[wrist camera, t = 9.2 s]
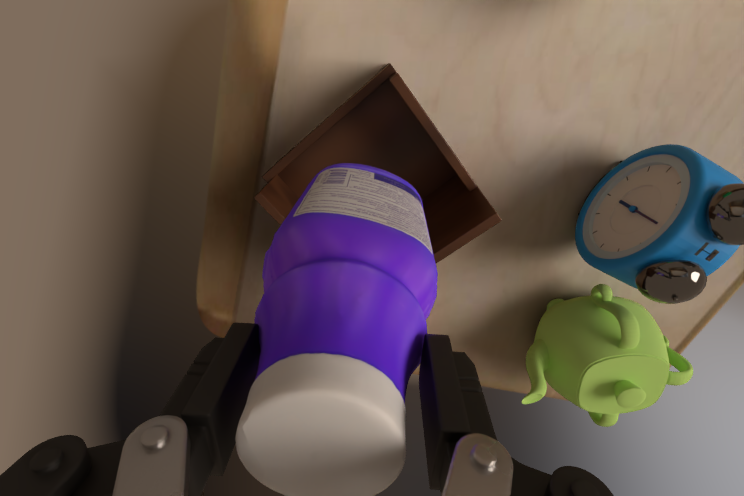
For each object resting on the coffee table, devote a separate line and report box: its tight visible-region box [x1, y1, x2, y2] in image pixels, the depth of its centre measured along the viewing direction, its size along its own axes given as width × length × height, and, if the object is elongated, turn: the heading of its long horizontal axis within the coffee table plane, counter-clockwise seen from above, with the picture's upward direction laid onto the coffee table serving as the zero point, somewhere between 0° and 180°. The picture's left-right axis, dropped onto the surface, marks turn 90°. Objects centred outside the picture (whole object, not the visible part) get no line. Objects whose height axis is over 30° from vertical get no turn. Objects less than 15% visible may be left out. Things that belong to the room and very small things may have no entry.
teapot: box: [522, 284, 693, 427], centre depth 45 cm, size 16×14×13 cm
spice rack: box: [254, 63, 502, 263], centre depth 35 cm, size 13×16×16 cm
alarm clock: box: [575, 145, 744, 304], centre depth 36 cm, size 13×6×15 cm, turn 154°
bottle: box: [235, 163, 438, 496], centre depth 17 cm, size 7×6×17 cm
